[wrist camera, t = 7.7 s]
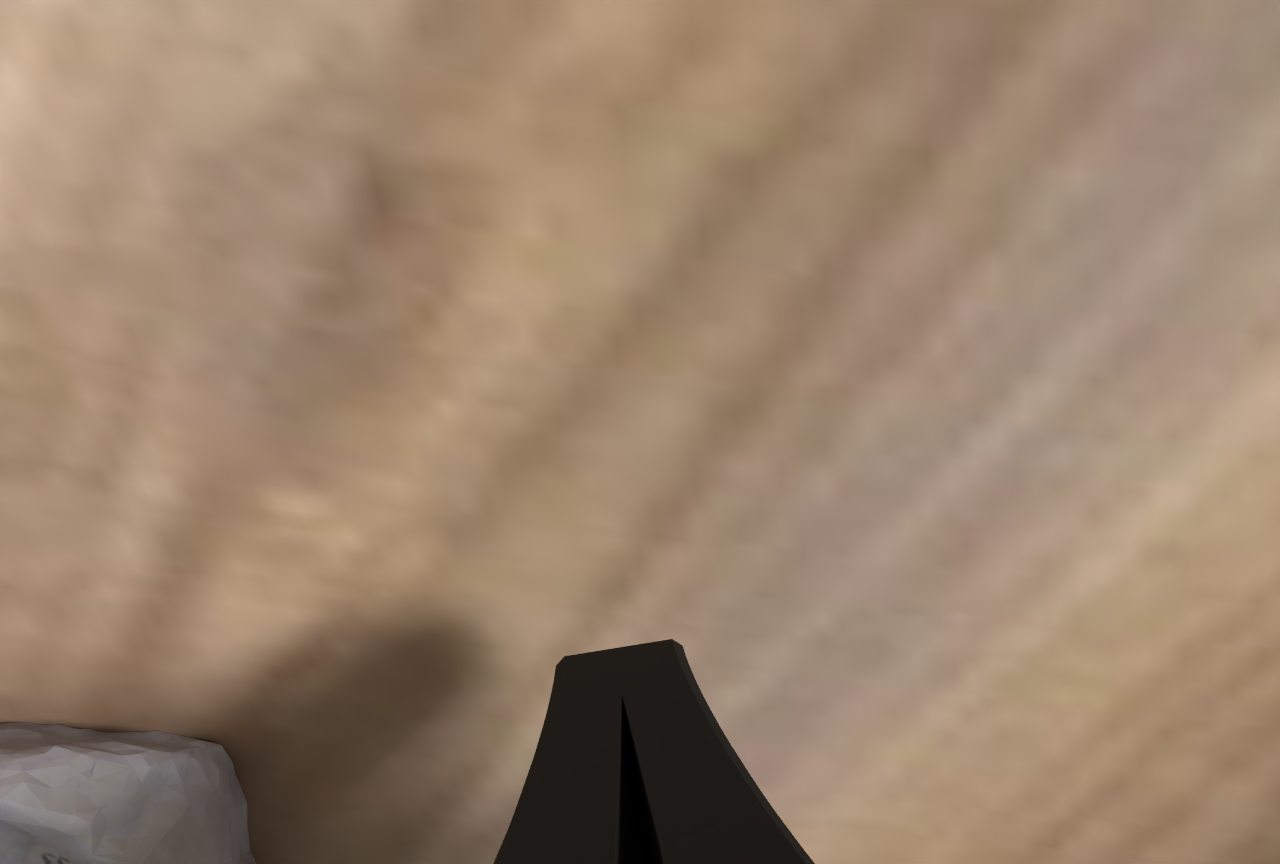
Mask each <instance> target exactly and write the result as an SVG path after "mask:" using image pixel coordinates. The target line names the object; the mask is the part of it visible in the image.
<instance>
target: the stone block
mask: <svg viewBox="0 0 1280 864" xmlns="http://www.w3.org/2000/svg"><path fill="white" fill-rule="evenodd" d="M247 818H248V803H247V801H246V798H245V796H244V793H243V791H242V788H241V786H240V783H239V781H238V779H237V776H236V773H235V770H234V764H233V761H232V760H231V758H230V757H229V755H228V754H227V752H226V751H225V749H224V748H223V746H222V745H221V744H216V743H211V742H207V741H202V740H198V739H193V738H189V737H185V736H180V735H176V734H171V733H166V732H161V731H147V732H139V731H128V732H101V731H95V730H92V729H76V728H72V727H68V726H64V725H60V724H59V725H41V724H35V723H22V722H14V723H2V724H0V864H257V863H256V861H255V859H254V857H253V855H252V853H251V851H250V846H249V833H248V826H247Z"/></svg>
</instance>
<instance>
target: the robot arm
mask: <svg viewBox="0 0 1280 864" xmlns="http://www.w3.org/2000/svg"><path fill="white" fill-rule="evenodd" d="M494 864H815V863H814V862H813V861H812V860H811V858H810V857H809V856H808V855H807V853H806V852H805V851H804V849H803V848H802V847H801V846H800V844H799V843H798V842H797V840H796V839H795V838H794V836H793V835H792V833H791V832H790V831H789V829H788V828H787V827H786V825H785V824H784V823H783V821H782V820H781V819H780V817H779V816H778V815H777V813H776V812H775V811H774V809H773V808H772V806H771V805H770V803H769V802H768V801H767V799H766V798H765V796H764V795H763V793H762V792H761V791H760V789H759V788H758V786H757V785H756V783H755V782H754V780H753V778H752V777H751V775H750V774H749V772H748V771H747V769H746V768H745V766H744V765H743V763H742V761H741V760H740V758H739V757H738V755H737V754H736V752H735V751H734V749H733V748H732V746H731V744H730V743H729V741H728V739H727V738H726V736H725V734H724V733H723V731H722V729H721V728H720V726H719V724H718V722H717V721H716V719H715V717H714V715H713V713H712V711H711V710H710V708H709V706H708V704H707V702H706V700H705V699H704V697H703V695H702V693H701V691H700V688H699V686H698V684H697V682H696V680H695V678H694V676H693V673H692V671H691V668H690V666H689V664H688V661H687V658H686V655H685V652H684V649H683V646H682V645H680V644H679V643H677V642H676V641H674V640H673V639H670V640H663V641H657V642H651V643H645V644H639V645H632V646H626V647H620V648H614V649H608V650H601V651H595V652H589V653H583V654H577V655H570V656H564V658H563V659H562V660H561V661H560V662H559V663H558V664H557V665H556V670H555V677H554V683H553V688H552V693H551V697H550V702H549V706H548V710H547V714H546V718H545V721H544V725H543V728H542V732H541V735H540V738H539V742H538V745H537V749H536V752H535V755H534V758H533V761H532V764H531V767H530V770H529V773H528V776H527V778H526V781H525V784H524V787H523V790H522V793H521V796H520V798H519V801H518V804H517V807H516V810H515V813H514V815H513V818H512V821H511V823H510V826H509V828H508V831H507V833H506V835H505V838H504V840H503V843H502V845H501V847H500V850H499V852H498V854H497V857H496V859H495V862H494Z"/></svg>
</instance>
